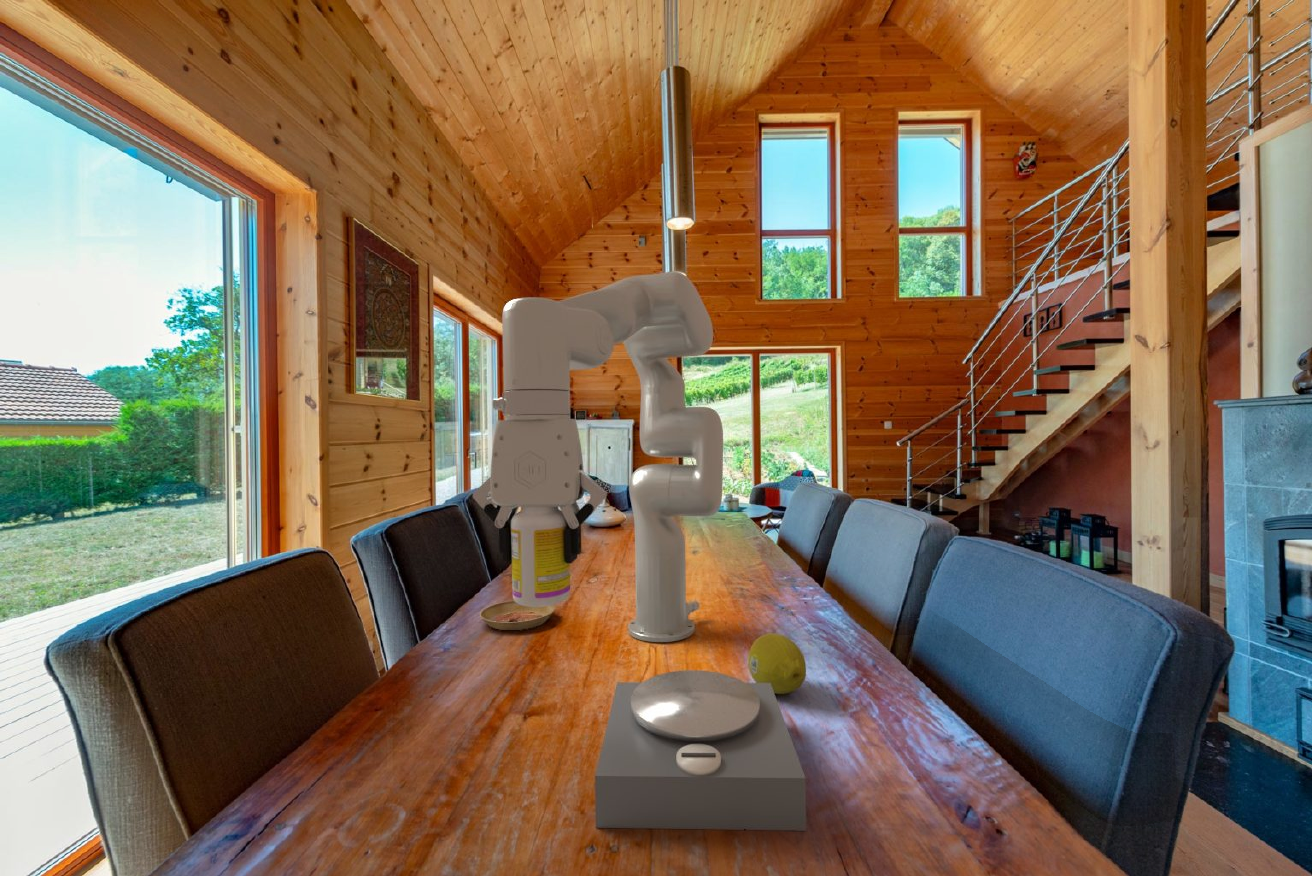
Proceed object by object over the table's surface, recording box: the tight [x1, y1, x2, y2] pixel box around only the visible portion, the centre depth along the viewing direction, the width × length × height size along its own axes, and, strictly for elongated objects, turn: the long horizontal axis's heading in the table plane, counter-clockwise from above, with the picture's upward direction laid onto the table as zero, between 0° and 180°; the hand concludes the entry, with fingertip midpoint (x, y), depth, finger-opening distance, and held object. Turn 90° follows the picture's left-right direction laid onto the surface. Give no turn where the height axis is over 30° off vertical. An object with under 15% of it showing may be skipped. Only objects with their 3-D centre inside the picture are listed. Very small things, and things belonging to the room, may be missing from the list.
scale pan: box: [631, 669, 760, 741], centre depth 66 cm, size 15×15×1 cm
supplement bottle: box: [511, 507, 571, 607], centre depth 65 cm, size 7×7×13 cm
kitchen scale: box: [594, 681, 807, 832], centre depth 63 cm, size 20×20×6 cm
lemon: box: [747, 632, 807, 695], centre depth 81 cm, size 11×8×8 cm
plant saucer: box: [479, 599, 556, 631], centre depth 113 cm, size 15×15×3 cm
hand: (540, 559), depth 66 cm, fingers closed on supplement bottle, 6 cm apart
